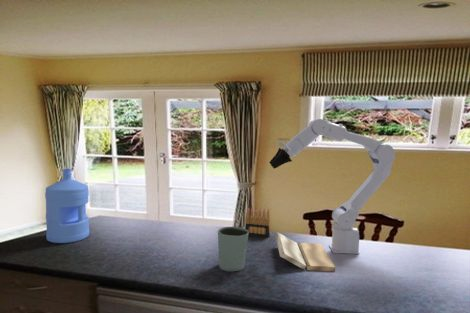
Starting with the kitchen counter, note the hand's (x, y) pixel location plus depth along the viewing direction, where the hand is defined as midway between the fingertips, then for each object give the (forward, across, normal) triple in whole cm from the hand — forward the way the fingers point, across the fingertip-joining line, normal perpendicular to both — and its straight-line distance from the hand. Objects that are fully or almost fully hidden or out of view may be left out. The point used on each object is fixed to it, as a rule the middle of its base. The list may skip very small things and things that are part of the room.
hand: (271, 165), depth 127 cm
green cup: (+31, +19, +15) cm, 40 cm away
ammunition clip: (+24, -14, +21) cm, 35 cm away
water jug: (+82, -3, -30) cm, 87 cm away
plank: (+15, +9, +26) cm, 32 cm away
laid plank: (+9, +9, +34) cm, 37 cm away
